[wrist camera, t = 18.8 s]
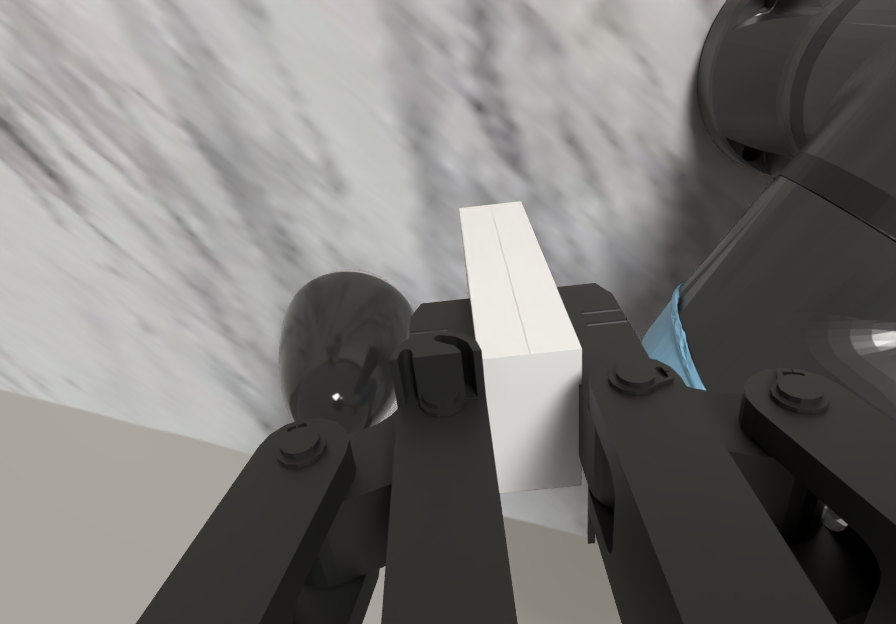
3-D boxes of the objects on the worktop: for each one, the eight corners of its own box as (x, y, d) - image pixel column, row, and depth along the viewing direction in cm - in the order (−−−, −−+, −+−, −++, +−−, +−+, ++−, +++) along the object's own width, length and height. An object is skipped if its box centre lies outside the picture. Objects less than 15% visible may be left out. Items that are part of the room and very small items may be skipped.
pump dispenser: (274, 329, 49) (216, 456, 36) (327, 229, 45) (282, 330, 32) (382, 378, 52) (364, 513, 39) (441, 288, 48) (444, 405, 34)
